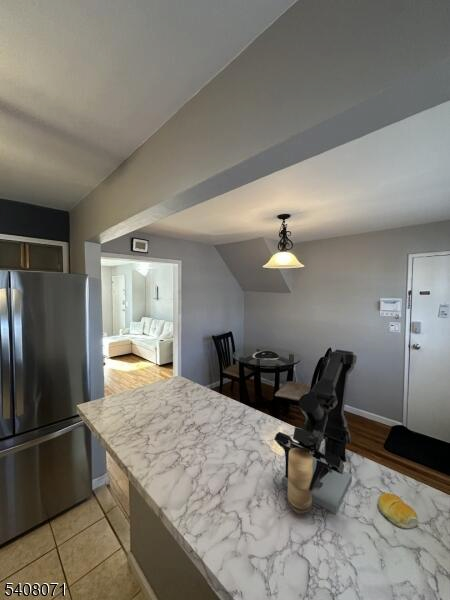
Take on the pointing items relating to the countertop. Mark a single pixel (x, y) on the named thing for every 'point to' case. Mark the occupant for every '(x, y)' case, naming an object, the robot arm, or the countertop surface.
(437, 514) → the countertop surface
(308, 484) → the oak leg
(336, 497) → the slate board
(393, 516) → the bread roll
